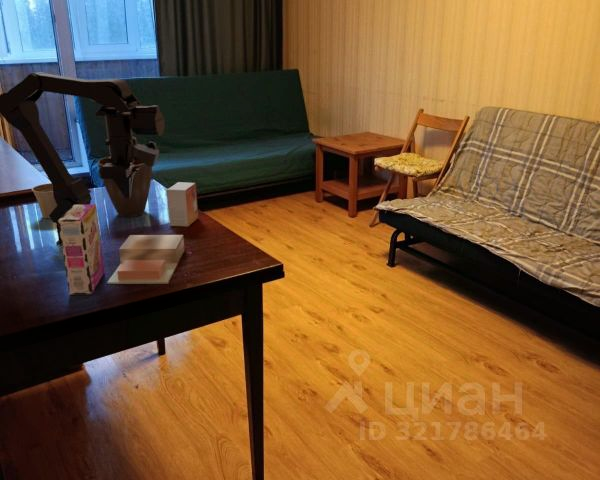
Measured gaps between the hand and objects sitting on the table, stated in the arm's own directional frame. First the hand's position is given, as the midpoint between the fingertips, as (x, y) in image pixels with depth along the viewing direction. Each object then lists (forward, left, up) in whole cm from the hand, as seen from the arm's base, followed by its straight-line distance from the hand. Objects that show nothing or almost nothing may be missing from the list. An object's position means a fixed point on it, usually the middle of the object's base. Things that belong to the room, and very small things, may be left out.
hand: (127, 197), depth 139 cm
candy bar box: (-3, -24, -12) cm, 27 cm away
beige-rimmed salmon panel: (+7, -20, -10) cm, 23 cm away
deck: (+7, -9, -12) cm, 17 cm away
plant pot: (-7, +24, -12) cm, 28 cm away
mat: (+7, -19, -12) cm, 24 cm away
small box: (+10, +16, -12) cm, 23 cm away
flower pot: (-29, +22, -12) cm, 38 cm away
